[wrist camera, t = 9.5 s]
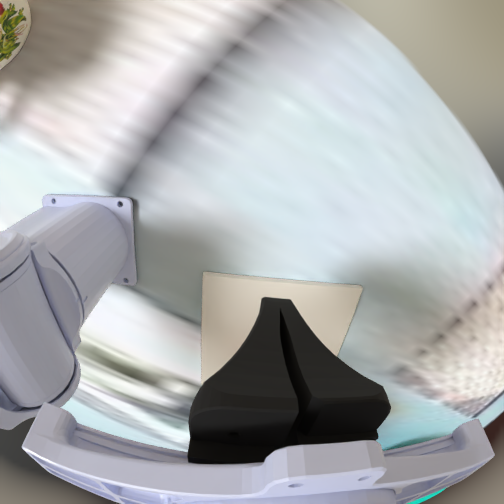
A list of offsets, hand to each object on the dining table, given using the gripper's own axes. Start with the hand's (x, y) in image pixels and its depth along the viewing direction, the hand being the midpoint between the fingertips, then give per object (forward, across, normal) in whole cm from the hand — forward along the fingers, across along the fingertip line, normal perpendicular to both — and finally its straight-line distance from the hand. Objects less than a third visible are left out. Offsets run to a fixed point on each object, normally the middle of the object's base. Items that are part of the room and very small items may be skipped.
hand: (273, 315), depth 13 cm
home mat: (+10, -2, +13) cm, 17 cm away
